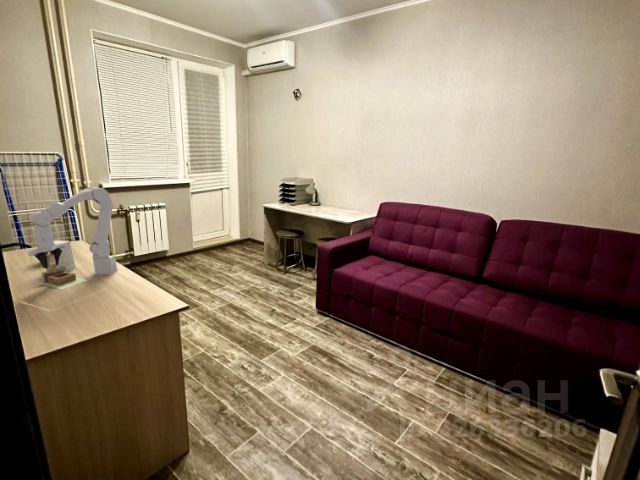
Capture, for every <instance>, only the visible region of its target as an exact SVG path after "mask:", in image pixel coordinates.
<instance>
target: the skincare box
mask: <svg viewBox="0 0 640 480" xmlns="http://www.w3.org/2000/svg"><path fill="white" fill-rule="evenodd" d="M61 243H64V244H65V246H66V248H60V250H62V253H61V255H60V258H59V265H56V266H57V268H60V267H63V266H65V267H66V270H67V272H70V271H72V270H74V269H76V264H75V259H74V254H73V250H72V245H71V241H70V240H58V239H57V240H54V244H55V245H56V244H61ZM48 254H51V253H50V251H49V252H48Z"/></svg>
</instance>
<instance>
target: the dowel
mask: <svg viewBox="0 0 640 480" xmlns="http://www.w3.org/2000/svg"><path fill="white" fill-rule="evenodd" d="M46 255H47V265H48V268H47V269H45V272H47V273H54V272H57V266H56V261H55V256H54V254H46Z"/></svg>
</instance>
